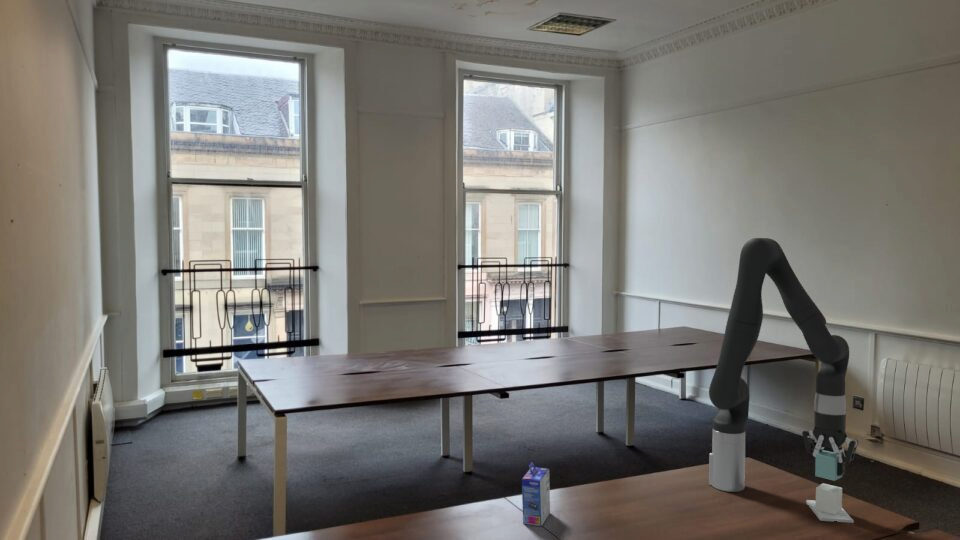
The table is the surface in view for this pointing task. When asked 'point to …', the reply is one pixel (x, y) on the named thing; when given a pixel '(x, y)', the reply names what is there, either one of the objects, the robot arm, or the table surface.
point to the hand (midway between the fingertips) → (829, 472)
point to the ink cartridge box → (536, 495)
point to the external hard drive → (824, 516)
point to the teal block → (826, 465)
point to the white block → (828, 498)
